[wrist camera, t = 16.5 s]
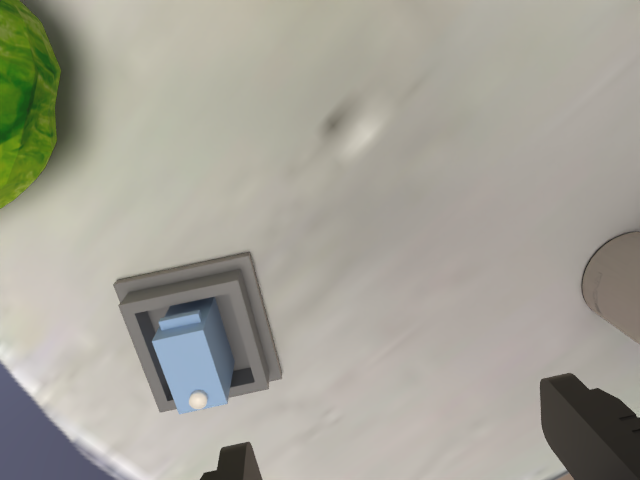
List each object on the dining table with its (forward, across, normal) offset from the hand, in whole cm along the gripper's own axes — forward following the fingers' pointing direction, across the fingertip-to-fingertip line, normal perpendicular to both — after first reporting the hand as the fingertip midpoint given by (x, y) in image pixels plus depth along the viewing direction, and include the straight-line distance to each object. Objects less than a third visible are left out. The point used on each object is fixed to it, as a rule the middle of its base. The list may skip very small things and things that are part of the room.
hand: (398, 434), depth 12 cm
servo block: (+27, +13, +10) cm, 32 cm away
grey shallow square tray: (+28, +13, +10) cm, 33 cm away
